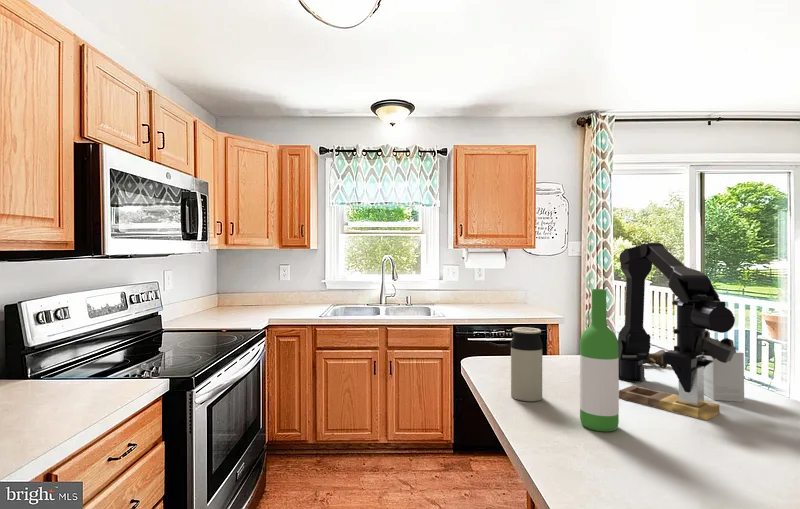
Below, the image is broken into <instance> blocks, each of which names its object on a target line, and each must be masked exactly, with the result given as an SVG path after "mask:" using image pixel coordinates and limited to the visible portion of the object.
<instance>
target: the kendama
mask: <svg viewBox="0 0 800 509" xmlns="http://www.w3.org/2000/svg"><path fill="white" fill-rule="evenodd" d="M665 352H666V351H665V349H660V350H658V351H656V352H651V353H650V352H649V356H648V360H643V365H645V364H653V365H654V364H655V365H657V366H659V367H661V368H667V366H668V364H663V363H662V354H663V353H665Z"/></svg>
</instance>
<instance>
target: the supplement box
mask: <svg viewBox="0 0 800 509" xmlns="http://www.w3.org/2000/svg"><path fill="white" fill-rule="evenodd" d="M744 354H745V353H744V352H741V351H738V350H736V353H735V354H734V355H733V357H732V359H731V361H728V362H727V363H723V362H720V361H718V360H717V359H713V358H712V357H711V356H705V357H706V360H712V361H713V362H712V363H710V364H709V365H707V366H706V367H705V368H704V396H706V397H708V398H710V399H711V400H713V401H724V402H725V401H726V402H738V403H739V402H740V403H741V402H742V403H743V402H745V358H744V357H745V355H744Z"/></svg>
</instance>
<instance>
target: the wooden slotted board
mask: <svg viewBox="0 0 800 509" xmlns="http://www.w3.org/2000/svg"><path fill="white" fill-rule="evenodd" d="M620 399H621V400H626V401H630V402H633V403H636V404H641V405H645V406H649V407H653V408H656V409H660V410H665V411H668V412H673V413H677V414H680V415H685V416H687V417H692V418H696V419H700V420H705V421H708V420H711V419H712V418H714V417H716V415H719V414H720V404H719V403H714V402H710V401H705V400H704V404H702V405H700V406H699V407H695V406H691V405H687V404H682V403H679V394H674V393H669V392H665V391H661V390H656V389H652V388H646V387H643V386H639V385H630V386H627V387H624V388H622V389H619V400H620Z"/></svg>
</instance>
